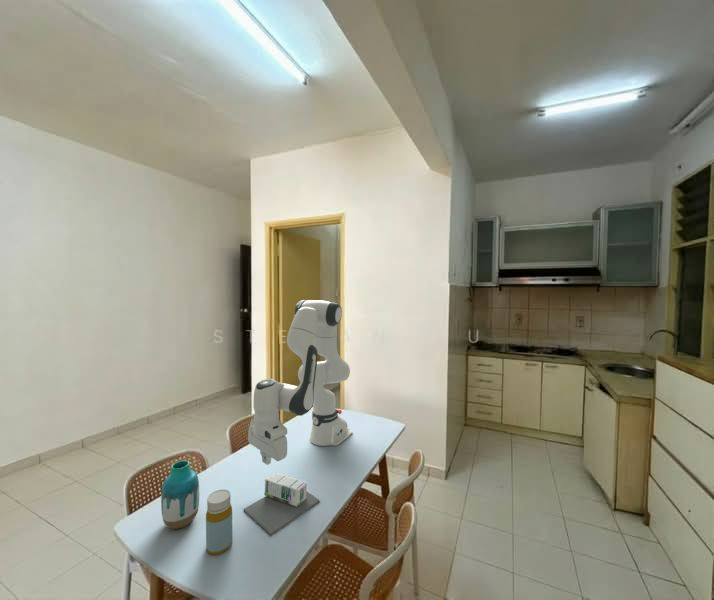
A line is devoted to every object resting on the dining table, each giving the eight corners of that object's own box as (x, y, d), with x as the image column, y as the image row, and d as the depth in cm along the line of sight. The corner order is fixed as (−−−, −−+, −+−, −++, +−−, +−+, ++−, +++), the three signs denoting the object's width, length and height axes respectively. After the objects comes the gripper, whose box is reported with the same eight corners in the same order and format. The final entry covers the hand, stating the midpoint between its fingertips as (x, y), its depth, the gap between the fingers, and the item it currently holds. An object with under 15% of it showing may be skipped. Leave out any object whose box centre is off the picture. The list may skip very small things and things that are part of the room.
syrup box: (264, 479, 112) (297, 490, 106) (275, 471, 117) (307, 482, 111) (263, 495, 111) (297, 507, 105) (274, 487, 117) (306, 498, 111)
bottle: (202, 545, 91) (202, 495, 90) (226, 532, 96) (226, 485, 95) (211, 560, 86) (210, 508, 85) (236, 546, 91) (235, 496, 90)
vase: (156, 539, 93) (155, 477, 92) (167, 514, 103) (166, 458, 102) (195, 531, 96) (194, 471, 95) (202, 508, 106) (201, 453, 105)
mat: (291, 482, 120) (291, 481, 120) (319, 501, 110) (319, 500, 110) (243, 510, 105) (243, 508, 105) (270, 535, 95) (270, 533, 95)
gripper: (243, 420, 117) (243, 455, 118) (274, 437, 104) (275, 478, 104) (258, 414, 122) (258, 449, 122) (290, 431, 108) (290, 469, 109)
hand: (266, 462), depth 113 cm, fingers closed
